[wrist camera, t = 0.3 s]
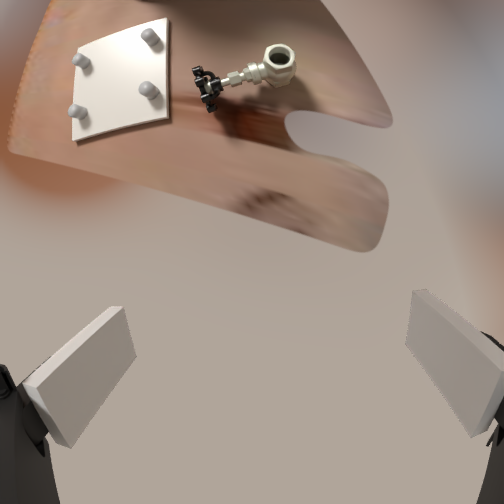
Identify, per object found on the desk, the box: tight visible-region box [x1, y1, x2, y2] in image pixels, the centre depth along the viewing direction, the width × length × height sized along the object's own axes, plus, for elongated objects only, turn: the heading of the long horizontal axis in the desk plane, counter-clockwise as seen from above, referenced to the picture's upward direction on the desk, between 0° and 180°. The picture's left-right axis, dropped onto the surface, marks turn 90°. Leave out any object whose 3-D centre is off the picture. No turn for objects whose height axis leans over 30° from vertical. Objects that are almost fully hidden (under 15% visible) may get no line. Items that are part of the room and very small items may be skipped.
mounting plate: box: [68, 18, 169, 142], centre depth 32 cm, size 17×16×4 cm
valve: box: [192, 43, 296, 113], centre depth 31 cm, size 7×7×12 cm
